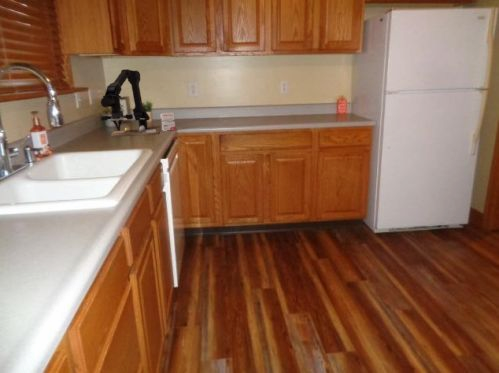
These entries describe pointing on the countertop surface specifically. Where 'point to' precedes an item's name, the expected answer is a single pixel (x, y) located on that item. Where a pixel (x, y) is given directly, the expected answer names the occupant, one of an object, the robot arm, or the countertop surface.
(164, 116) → the ink box
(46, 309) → the countertop surface
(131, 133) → the hinge board
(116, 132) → the loose leaf
